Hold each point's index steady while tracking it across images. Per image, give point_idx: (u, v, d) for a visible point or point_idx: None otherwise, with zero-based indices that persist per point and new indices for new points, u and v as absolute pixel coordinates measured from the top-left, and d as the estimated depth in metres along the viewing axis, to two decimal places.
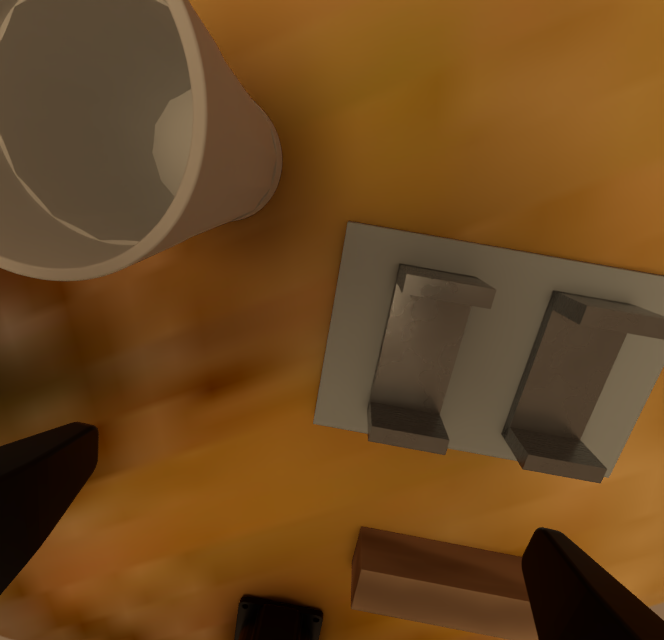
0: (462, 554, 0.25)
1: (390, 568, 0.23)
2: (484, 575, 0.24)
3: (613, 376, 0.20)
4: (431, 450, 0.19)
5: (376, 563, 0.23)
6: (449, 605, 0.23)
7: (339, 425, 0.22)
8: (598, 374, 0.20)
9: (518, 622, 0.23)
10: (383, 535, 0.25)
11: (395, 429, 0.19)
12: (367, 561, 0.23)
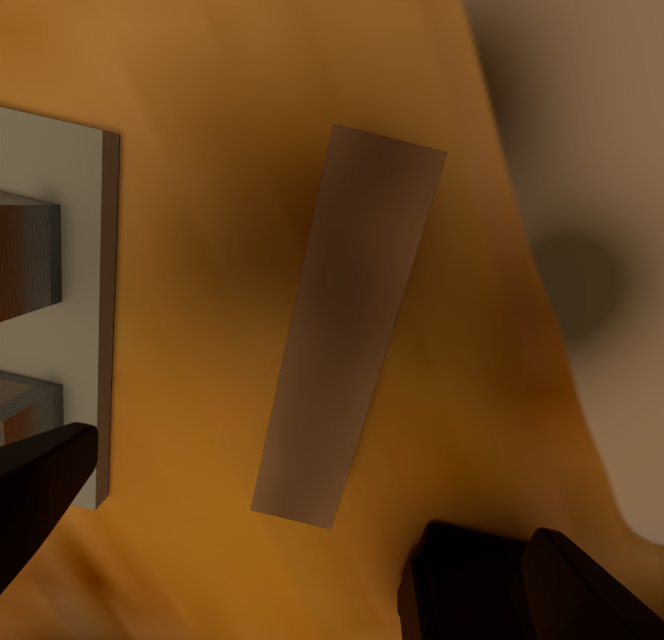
0: None
1: None
2: None
3: None
4: (0, 437, 0.14)
5: None
6: (317, 398, 0.14)
7: (92, 485, 0.19)
8: None
9: (355, 285, 0.12)
10: None
11: None
12: None
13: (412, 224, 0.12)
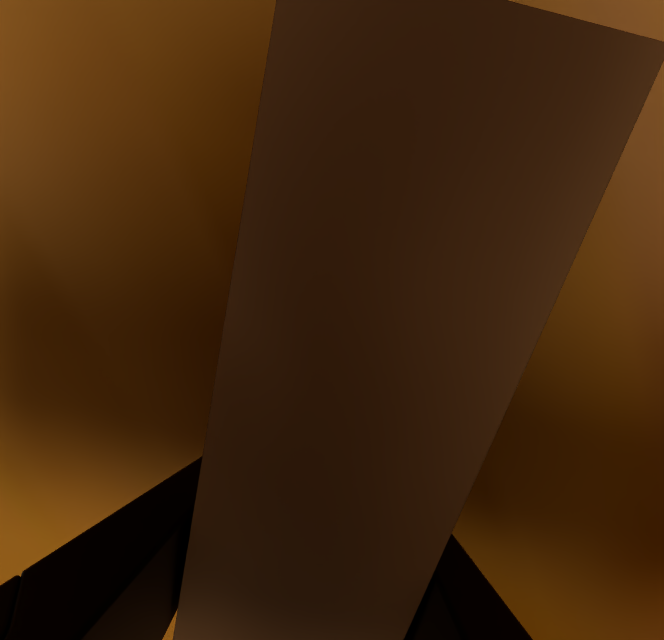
0: None
1: None
2: None
3: None
4: None
5: None
6: None
7: None
8: None
9: (358, 431, 0.05)
10: None
11: None
12: None
13: (526, 274, 0.04)
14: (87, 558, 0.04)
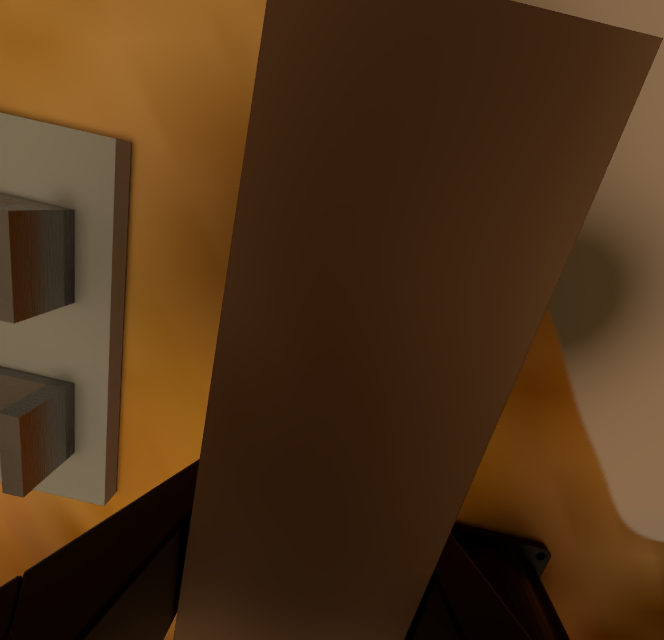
0: None
1: None
2: None
3: None
4: (16, 433, 0.15)
5: None
6: None
7: (101, 480, 0.19)
8: None
9: (355, 430, 0.05)
10: None
11: (3, 467, 0.15)
12: None
13: (521, 272, 0.04)
14: (88, 559, 0.04)
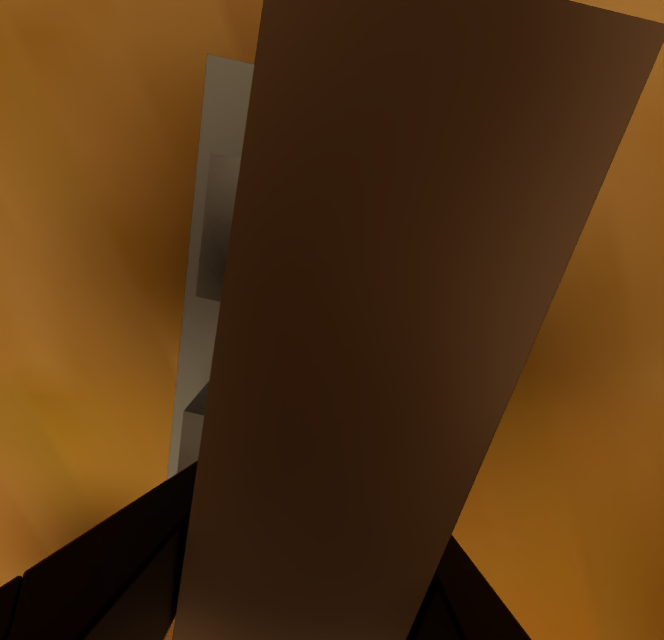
0: None
1: None
2: None
3: None
4: None
5: None
6: None
7: None
8: None
9: (355, 428, 0.05)
10: None
11: None
12: None
13: (525, 266, 0.04)
14: (88, 559, 0.04)
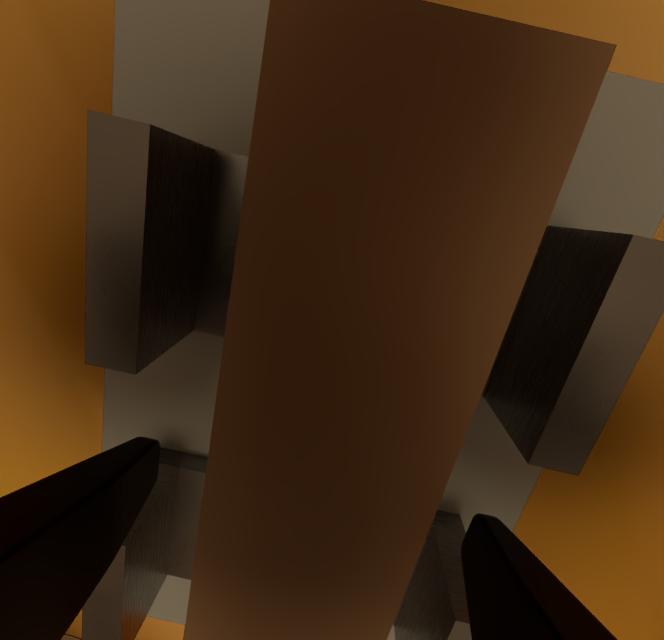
0: None
1: None
2: None
3: None
4: None
5: None
6: (276, 621, 0.06)
7: None
8: None
9: (352, 404, 0.05)
10: None
11: None
12: None
13: (499, 255, 0.04)
14: None
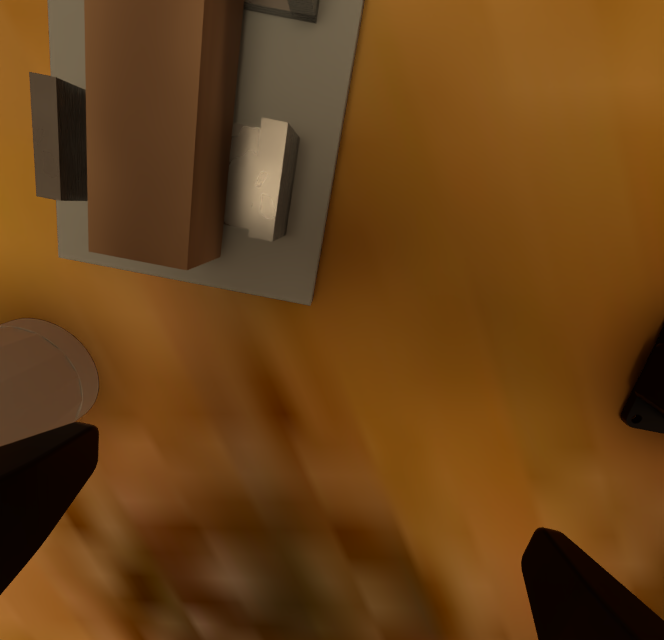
0: None
1: None
2: None
3: None
4: (281, 145, 0.13)
5: None
6: (136, 66, 0.11)
7: (312, 271, 0.17)
8: None
9: None
10: None
11: (252, 202, 0.13)
12: None
13: None
14: None
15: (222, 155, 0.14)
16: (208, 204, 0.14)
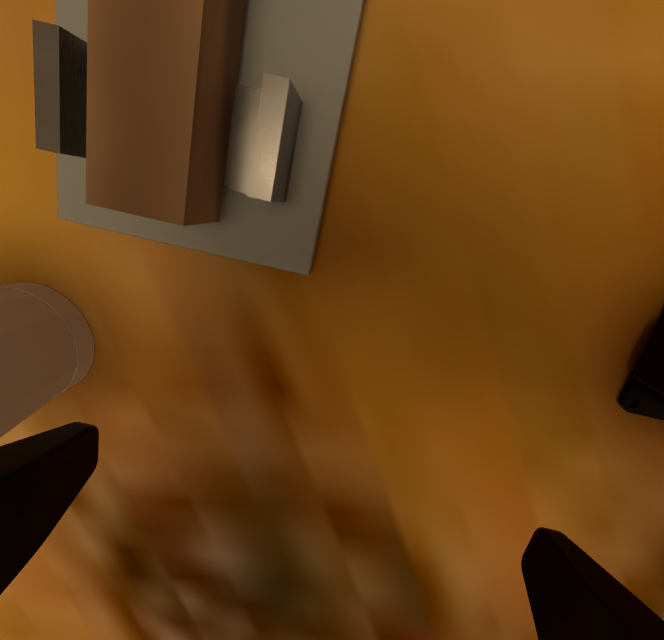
0: None
1: None
2: None
3: None
4: (282, 102, 0.13)
5: None
6: (138, 13, 0.11)
7: (311, 240, 0.17)
8: None
9: None
10: None
11: (252, 160, 0.13)
12: None
13: None
14: None
15: (223, 115, 0.14)
16: (207, 162, 0.14)
